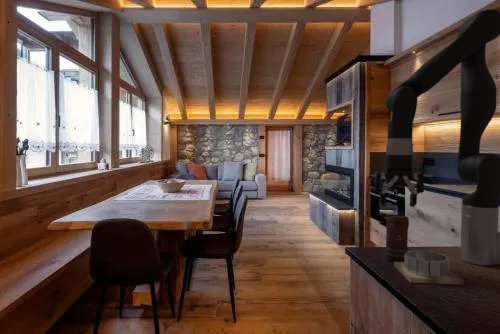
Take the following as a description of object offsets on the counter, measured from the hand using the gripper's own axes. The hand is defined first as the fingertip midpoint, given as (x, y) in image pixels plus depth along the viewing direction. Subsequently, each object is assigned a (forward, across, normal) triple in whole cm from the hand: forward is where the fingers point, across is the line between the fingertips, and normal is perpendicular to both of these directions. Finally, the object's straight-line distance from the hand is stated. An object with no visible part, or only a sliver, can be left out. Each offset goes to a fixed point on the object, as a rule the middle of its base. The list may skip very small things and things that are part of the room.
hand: (397, 206), depth 105 cm
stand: (+17, -4, +12) cm, 21 cm away
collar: (+16, -4, +12) cm, 20 cm away
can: (+17, 0, 0) cm, 17 cm away
